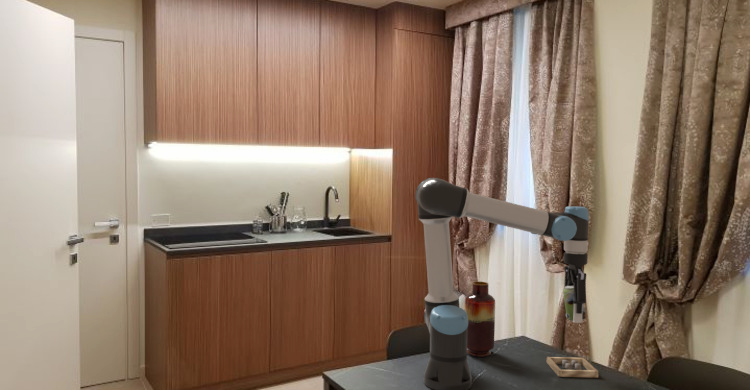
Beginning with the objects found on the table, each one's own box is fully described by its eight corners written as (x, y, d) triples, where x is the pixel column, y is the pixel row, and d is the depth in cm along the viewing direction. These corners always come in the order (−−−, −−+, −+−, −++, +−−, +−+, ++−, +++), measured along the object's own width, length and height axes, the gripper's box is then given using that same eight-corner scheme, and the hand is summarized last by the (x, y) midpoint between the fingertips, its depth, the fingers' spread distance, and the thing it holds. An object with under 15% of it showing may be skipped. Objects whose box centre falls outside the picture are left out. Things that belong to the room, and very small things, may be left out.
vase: (498, 351, 200) (500, 282, 199) (487, 360, 191) (489, 287, 189) (470, 346, 206) (472, 278, 205) (458, 354, 196) (460, 283, 195)
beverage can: (587, 324, 178) (588, 288, 178) (563, 322, 180) (564, 287, 179) (583, 318, 184) (584, 284, 184) (561, 317, 186) (562, 283, 185)
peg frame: (558, 376, 176) (558, 369, 176) (546, 362, 189) (546, 355, 189) (598, 377, 176) (598, 370, 176) (583, 363, 189) (583, 356, 189)
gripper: (598, 256, 171) (596, 328, 172) (576, 248, 191) (574, 312, 192) (574, 256, 171) (572, 327, 172) (555, 247, 191) (553, 311, 192)
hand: (573, 319), depth 182 cm, fingers closed on beverage can, 6 cm apart
